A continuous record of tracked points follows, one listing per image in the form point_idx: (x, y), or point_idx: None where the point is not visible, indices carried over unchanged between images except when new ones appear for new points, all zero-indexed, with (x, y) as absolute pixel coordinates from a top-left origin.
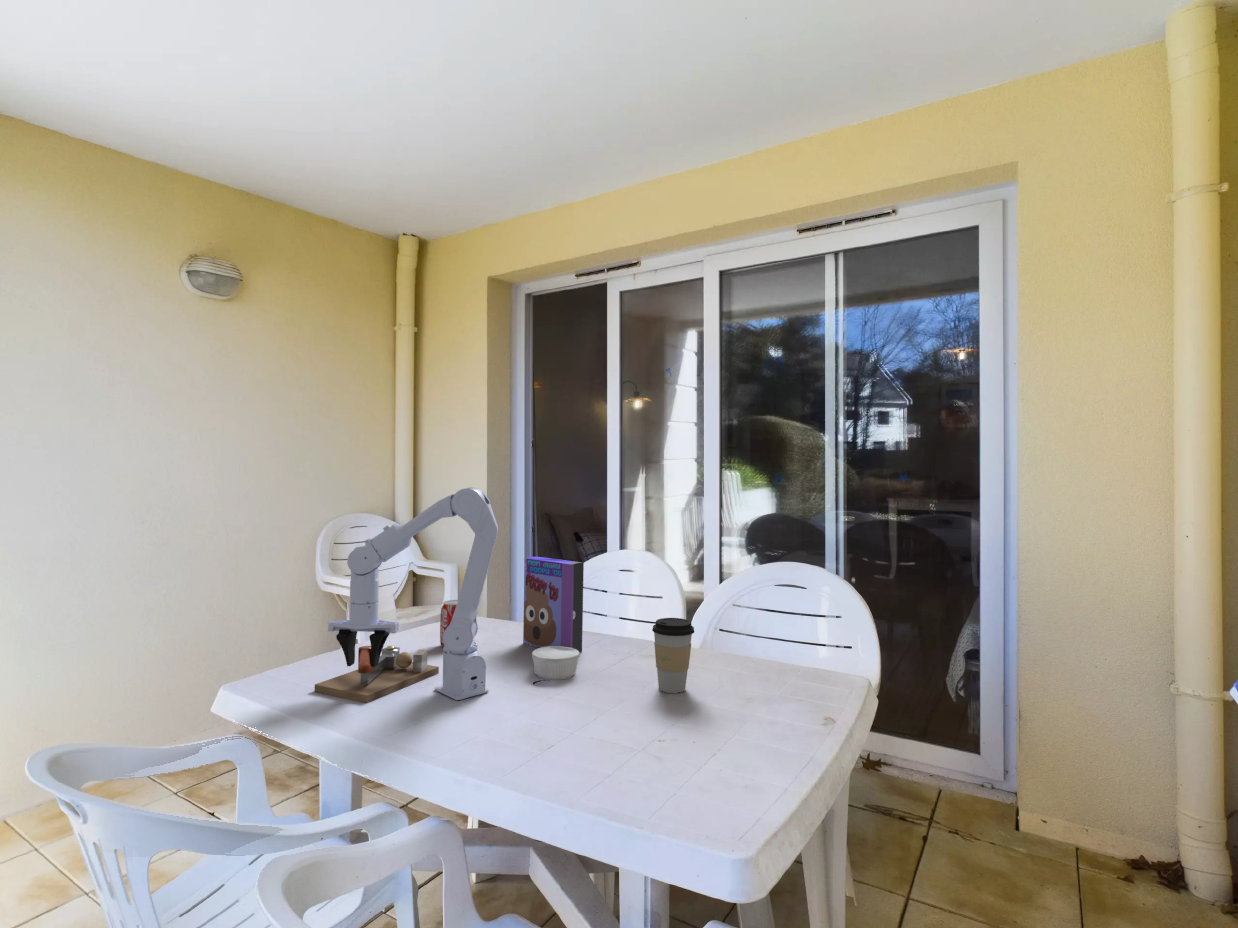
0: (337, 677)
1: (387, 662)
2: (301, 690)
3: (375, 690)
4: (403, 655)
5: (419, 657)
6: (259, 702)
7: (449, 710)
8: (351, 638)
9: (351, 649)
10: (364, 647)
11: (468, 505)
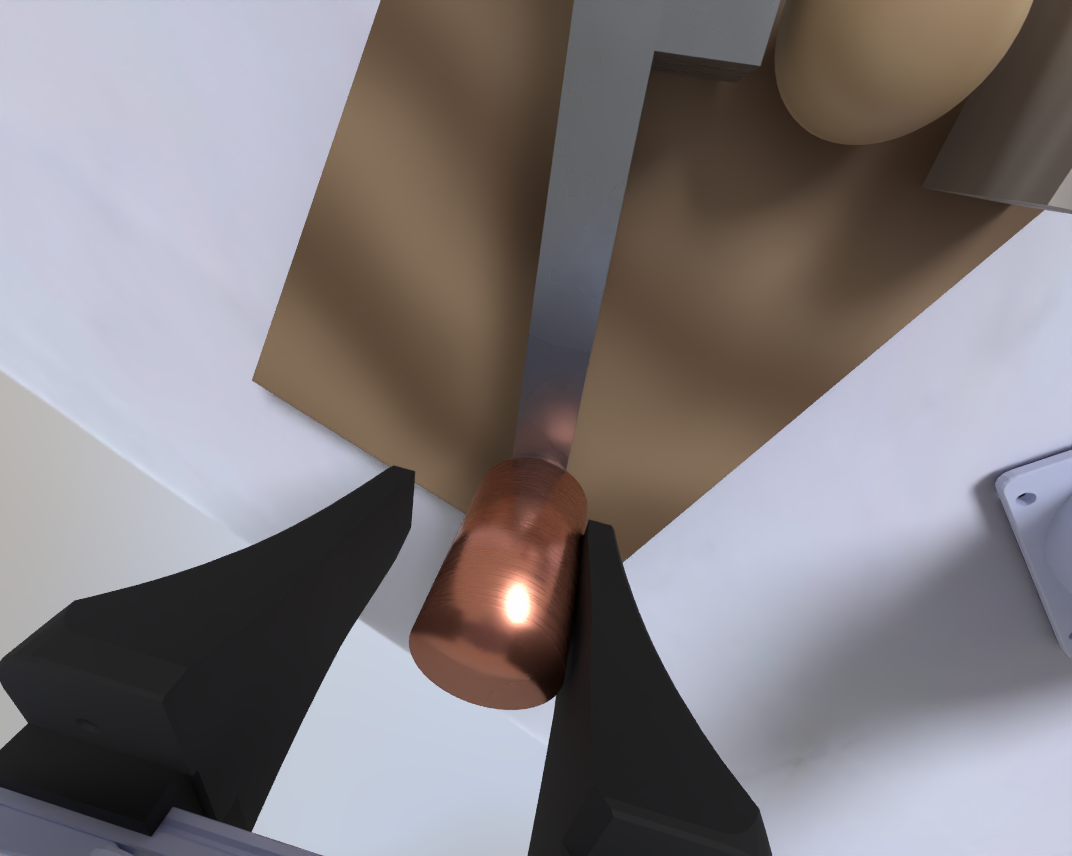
0: (313, 257)
1: (670, 64)
2: (203, 333)
3: (620, 538)
4: (902, 99)
5: None
6: (140, 460)
7: (969, 714)
8: (269, 711)
9: (342, 595)
10: (460, 645)
11: None
